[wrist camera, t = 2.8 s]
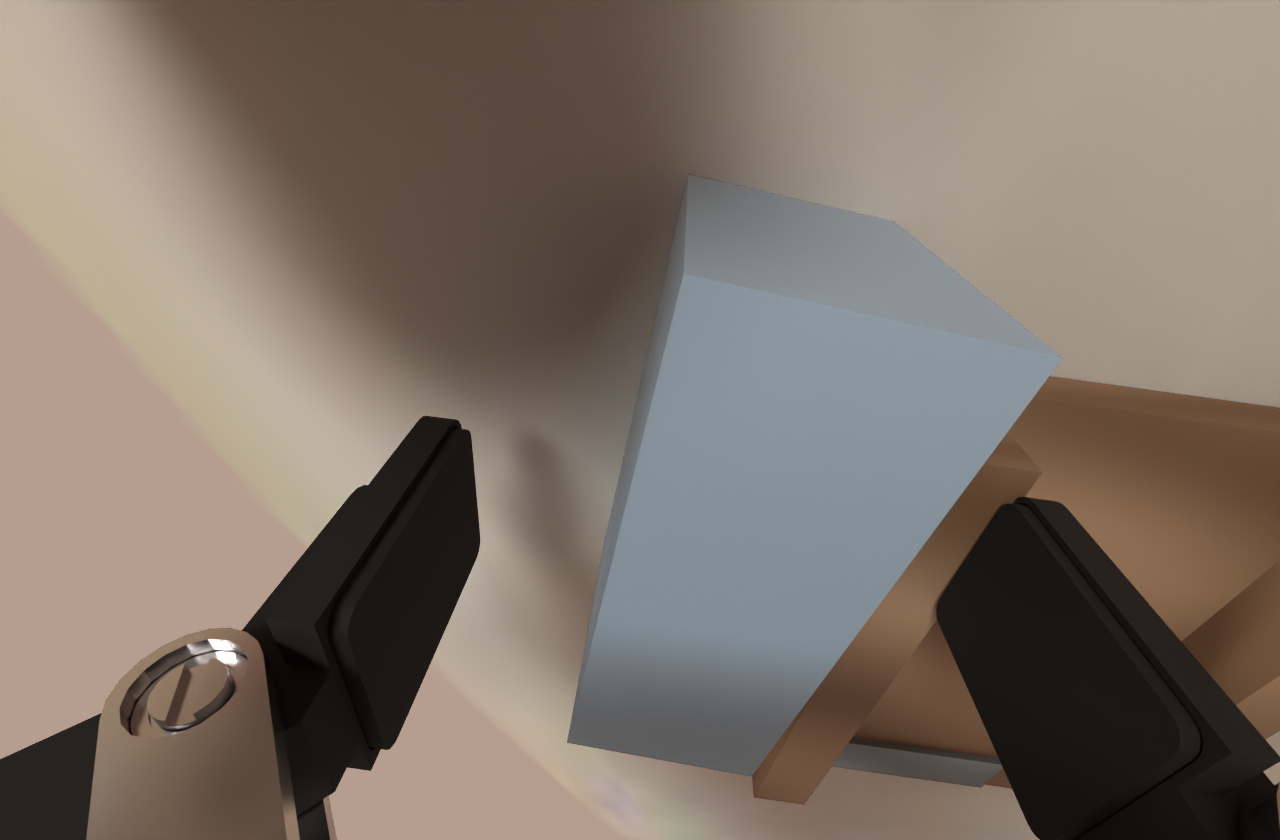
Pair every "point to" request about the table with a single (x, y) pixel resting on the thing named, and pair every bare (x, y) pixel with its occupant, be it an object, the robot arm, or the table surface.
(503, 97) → the table surface
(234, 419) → the table surface
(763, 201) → the blue stub
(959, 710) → the slot rack
